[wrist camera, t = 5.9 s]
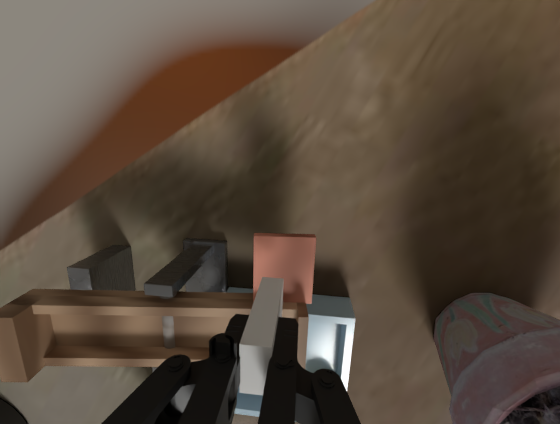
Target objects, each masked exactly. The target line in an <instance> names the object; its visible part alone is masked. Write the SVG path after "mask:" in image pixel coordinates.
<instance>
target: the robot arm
mask: <svg viewBox="0 0 560 424" xmlns="http://www.w3.org/2000/svg"><path fill="white" fill-rule="evenodd" d="M283 283H284V279H283V278H270V277H262V279H261V282H260V285H259V288H258V291H257V294H256V297H255V300H254V303H253V306H252V309H251V312H250V315H245V314H235V315H234V316H233V317H232V318H231V319H230V321H229V323H228V326H227V328H226V331H225V332H224V333H220V334H217V335H215V336H213V337H212V338H211V339H210V340H209V358H207V359H204V360H200V361H194V362H191V360H190V358H189V357H188V356H186V355H182V354H178V355H173V356H171V357H169V358H167V359H166V360H165V361H164V362H163V363H162V364H161V365H160V366H159V367H158V368H157V369H156V370H155V371H154V372H153V373H152V374H151V375H150V376H149V377H148V378H147V379H146V380H145V381H144V382H143V383H142V384H141V385H140V386H139V387H138V388H137V389H136V390H135V391H134V392H133V393H132V394H131V395H130V396H129V397H128V398H127V399H126V400H125V401H124V402H123V403H122V404H121V405H120V406H119V407H118V408H117V409H116V410H115V411H114V412H113V413H112V414H111V415H110V416H109V417H108V418H107V419H106V420H105V421H104V422H103V423H102V424H231V423H232V419H233V416H234V412H235V408H236V405H237V392H238V389H239V393H246V394H255V395H263V397H262V403H261V409H260V414H259V420H258V424H295V421H296V422H298V423H300V424H361V423H360V421H359V419H358V416H357V414H356V412H355V409H354V407H353V405H352V402H351V400H350V398H349V395H348V393H347V391H346V389H345V386H344V384H343V382H342V379H341V378H340V376H339V375H338V374H337V373H336V372H334V371H332V370H330V369H323V368H322V369H319V370H317V371H315V372H314V373H312V372H309V371H307V370H305V369H304V368H303V367H302V366H301V365H300V364H299V362H298V359H297V351H298V326H299V324H298V322H297V321H296V319H295V318H286V317H282V307H283ZM0 424H27V423H26V422H25V420H24V419H23V418H22V416H21V415H20V414H19V413H18V412H17V411H16V410H15V409H14V408H12V407H11V406H10V405H9V404H7V403H6V402H4V401H2V400H0Z"/></svg>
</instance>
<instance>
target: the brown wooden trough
mask: <svg viewBox="0 0 560 424" xmlns="http://www.w3.org/2000/svg"><path fill="white" fill-rule="evenodd" d="M315 248H316V236H315V234H277V233H254V269H253V293H228V292H177V293H176V294H175V295H174V297H164V296H153V295H145V291H118V290H63V289H32V290H30V291H28V292H27V293H25V294H23V295H22V296H20V297H18V298H17V299H15V300H13V301H11V302H10V303H8V304H6V305H5V306H3V307H1V308H0V378H1V382H28V381H29V380H31V379H32V378H33V377H34V376H35V375H36V374H37V373H38V372H39V371H40V370H41V369H42V368H43V367H44V366H115V367H159V366H160V365H161V364H162V363H163V362H164V361H165V360H166V359H167V358H169V357H171V356H173V355H178V354H182V355H186V356H188V357H189V358H190V360H191V362H194V361H200V360H204V359H207V358H209V340H210V339H211V338H212V337H213V336H215V335H217V334H220V333H224V332H225V331H226V328H227V326H228V323H229V321H230V319H231V318H232V317H233V316H234V315H235V314H245V315H250V312H251V309H252V306H253V303H254V300H255V297H256V294H257V291H258V288H259V285H260V282H261V279H262V277H270V278H283V279H284V283H283V307H282V317H286V318H295V319H296V321H297V322H298V324H299V326H298V351H297V359H298V362H299V364H300V365H301V366H302V367H303V368H304V369H305V366H306V351H307V337H308V322H309V316H308V311H307V306H306V304H312V290H313V276H314V262H315Z"/></svg>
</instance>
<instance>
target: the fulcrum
mask: <svg viewBox="0 0 560 424" xmlns="http://www.w3.org/2000/svg"><path fill="white" fill-rule="evenodd" d="M183 245H184V251H183V252H182V253H181V254H180V255H178V256H177V257H176V258H175V259H173V260H172V261H171V262H170V263H169V264H167V265H166V266H165V267H164V268H162V269H161V270H160V271H159V272H158V273H156V274H155V275H154V276H153V277H151V278H150V279H149V280H148V281H147V282H145V283H144V290H145V295H153V296H164V297H174V295H175V294H176V293H177V292H178V291H179V290H180V289H181V288H182V287H183V286H184V285H185V283H186V292H227V290H228V279H227V241H220V240H206V239H191V238H186V239H184V240H183ZM157 368H158V367H152V370H153V372H154V371H155V370H156V369H157Z"/></svg>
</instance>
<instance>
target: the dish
mask: <svg viewBox="0 0 560 424" xmlns="http://www.w3.org/2000/svg"><path fill="white" fill-rule="evenodd" d="M227 292H228V293H253V289H247V288H235V287H229V288H228V290H227ZM306 306H307V311H308V316H309V322H308V337H307V351H306V366H305V370H307V371H309V372H312V373H314V372H315V371H317V370H319V369H322V368H323V369H330V370H332V371H334V372H336V373H337V374H338V375H339V376H340V378H341V379H342V382H343V384H344V386H345V389H346V391H347V387H348V378H349V370H350V361H351V352H352V344H353V335H354V327H355V315H354V312H353V308H352V304H351V301H350V298H349V297H337V296H326V295H315V294H312V304H306ZM262 397H263V395H255V394H246V393H239V389H238V392H237V405H236V408H235V412H234V413H235V414H243V415H250V416H257V417H259V414H260V409H261V403H262ZM295 422H296V421H295Z"/></svg>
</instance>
